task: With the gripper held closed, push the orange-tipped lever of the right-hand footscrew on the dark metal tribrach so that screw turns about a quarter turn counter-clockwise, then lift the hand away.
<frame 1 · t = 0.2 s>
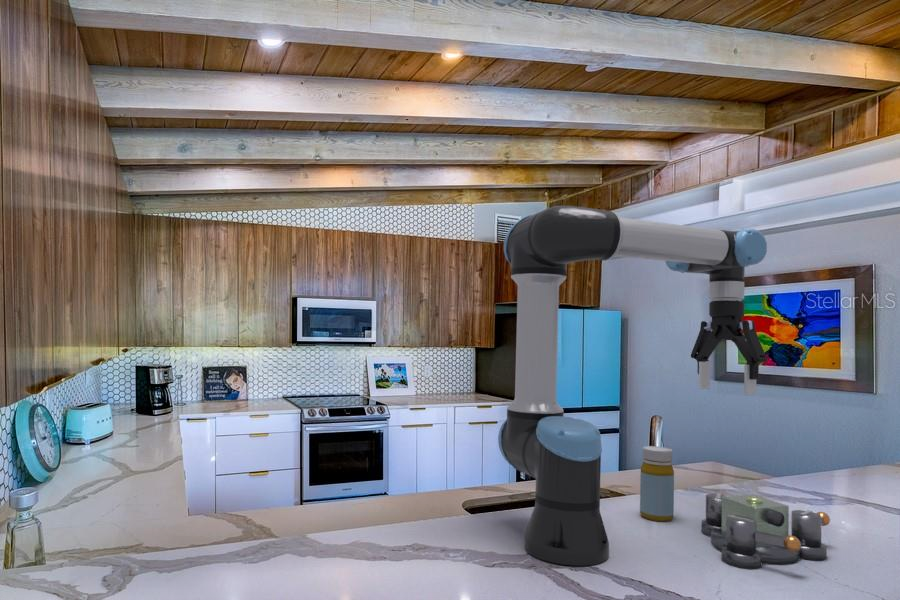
hand: (726, 391, 137), 28 cm above the countertop, fingers open, 13 cm apart
footscrew A: (762, 538, 103), point 5 cm above the countertop, hinge at 0.0°
bottle: (656, 518, 130), on the countertop
footscrew B: (813, 524, 112), point 5 cm above the countertop, hinge at 0.0°
footscrew C: (718, 505, 124), point 5 cm above the countertop, hinge at 0.0°
tribrach: (754, 549, 112), on the countertop
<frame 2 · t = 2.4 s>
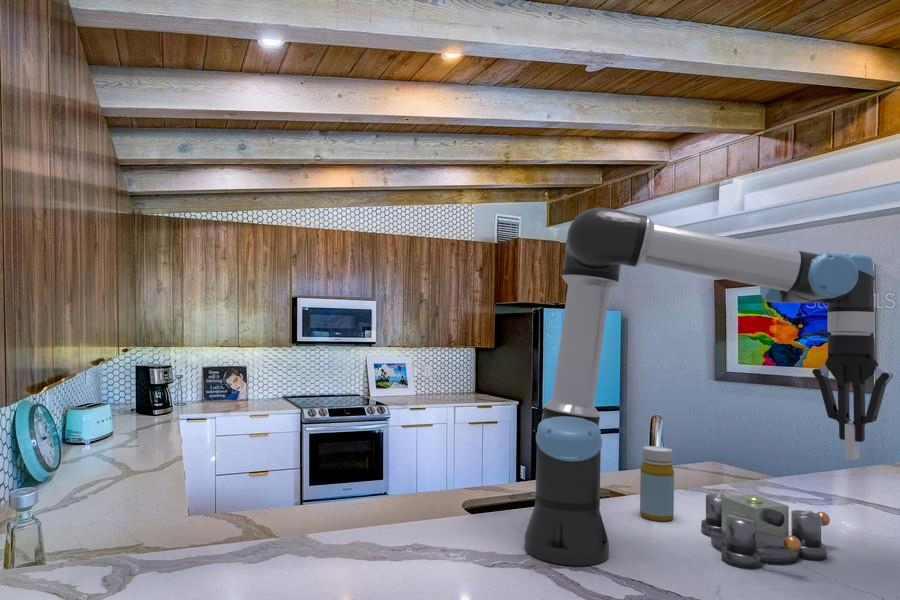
hand: (852, 458, 112), 18 cm above the countertop, fingers closed
nothing on the countertop moved.
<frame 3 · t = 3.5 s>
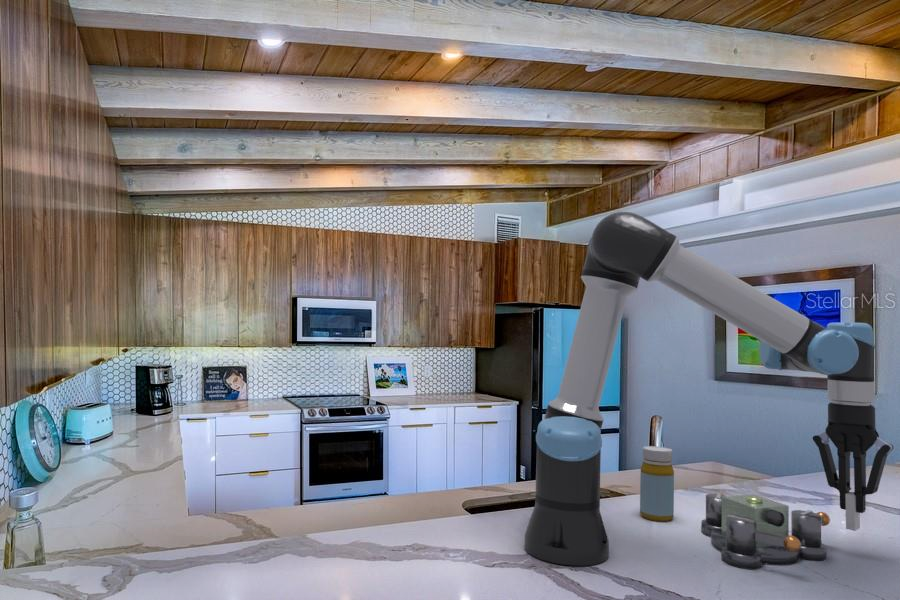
hand: (852, 528, 111), 5 cm above the countertop, fingers closed
nothing on the countertop moved.
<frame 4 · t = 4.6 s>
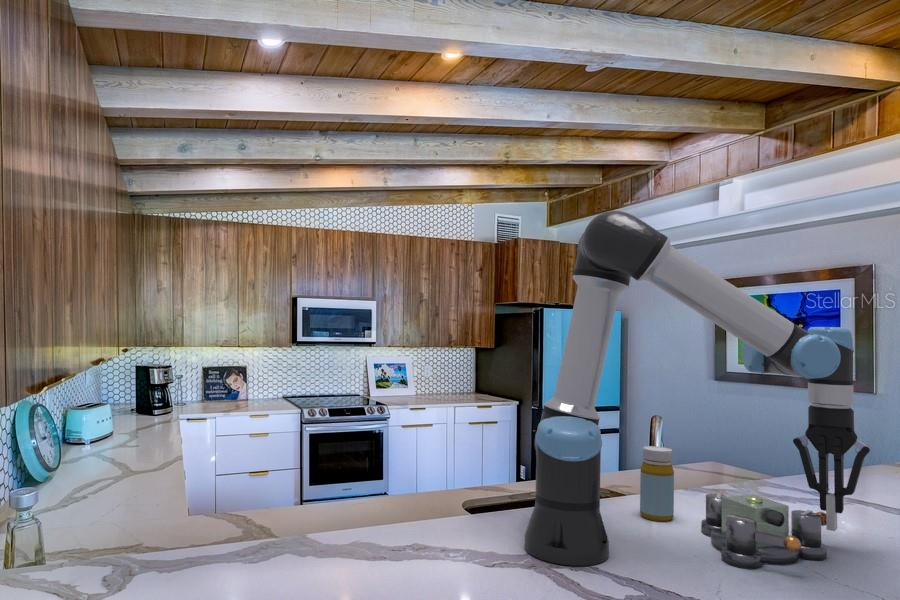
hand: (831, 528, 114), 4 cm above the countertop, fingers closed
footscrew B: (813, 524, 112), point 5 cm above the countertop, hinge at 0.8°, touching gripper
everything else where it was.
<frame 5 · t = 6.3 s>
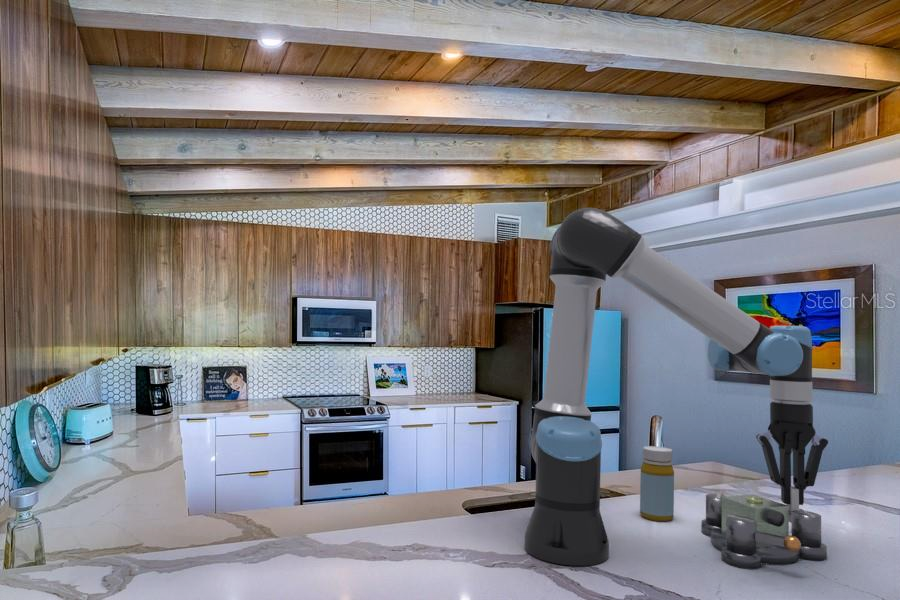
hand: (792, 520, 118), 4 cm above the countertop, fingers closed
footscrew B: (795, 521, 114), point 5 cm above the countertop, hinge at 49.6°, touching gripper
everything else where it was.
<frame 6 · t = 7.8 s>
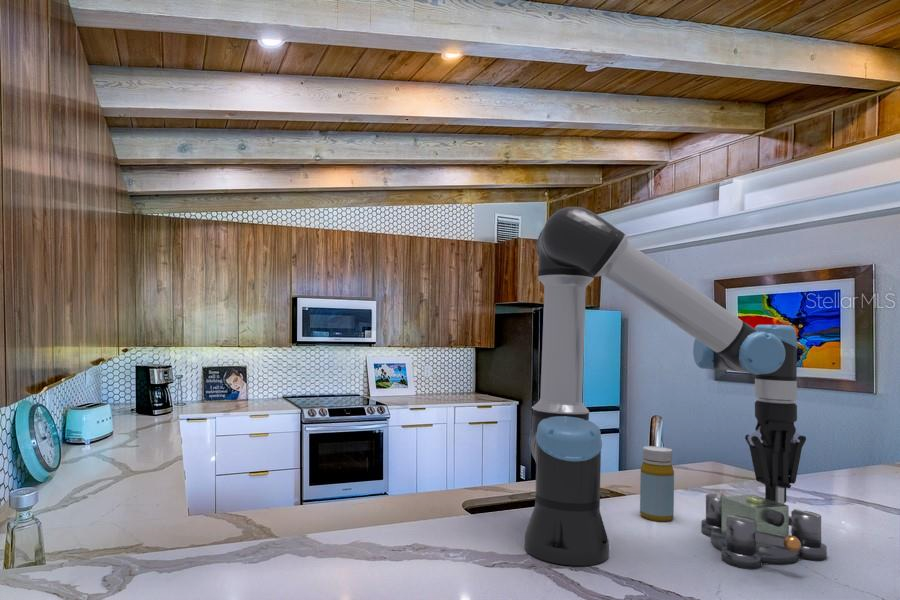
hand: (775, 519, 118), 4 cm above the countertop, fingers closed
footscrew B: (788, 521, 113), point 5 cm above the countertop, hinge at 77.8°
everything else where it was.
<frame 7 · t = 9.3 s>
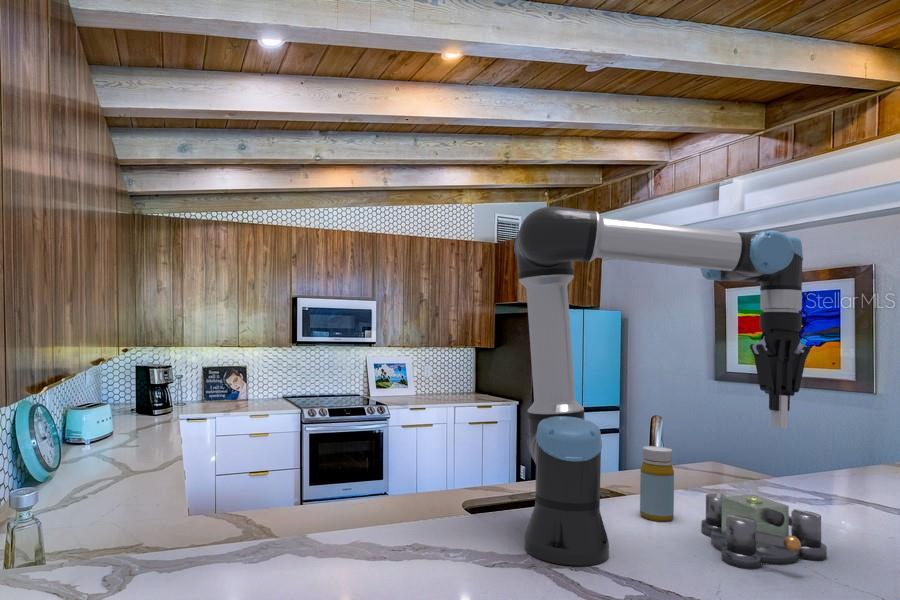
hand: (779, 427, 120), 22 cm above the countertop, fingers closed
nothing on the countertop moved.
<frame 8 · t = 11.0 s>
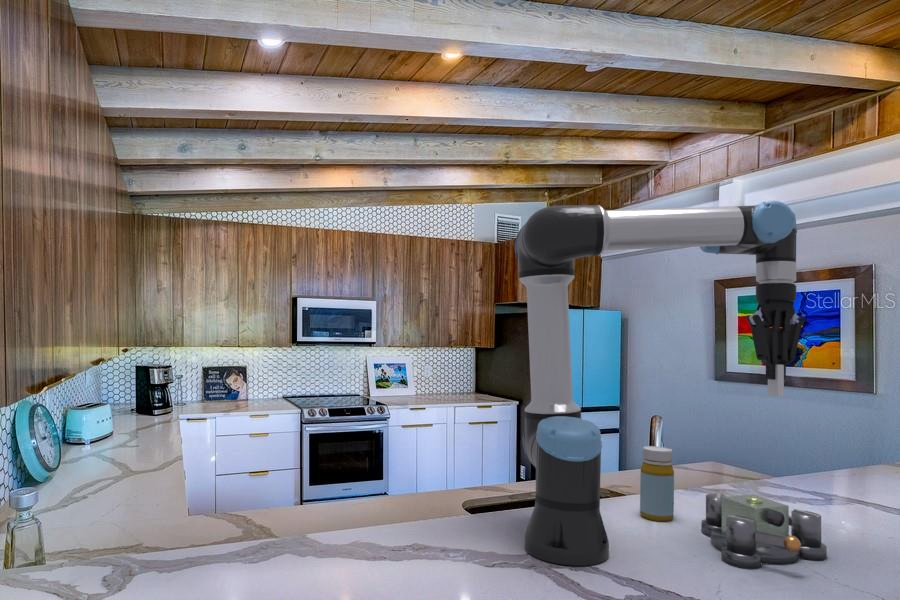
hand: (775, 395, 123), 28 cm above the countertop, fingers closed
nothing on the countertop moved.
at the end: footscrew B at +78° (first picture: +0°); footscrew A at +0° (first picture: +0°) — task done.
